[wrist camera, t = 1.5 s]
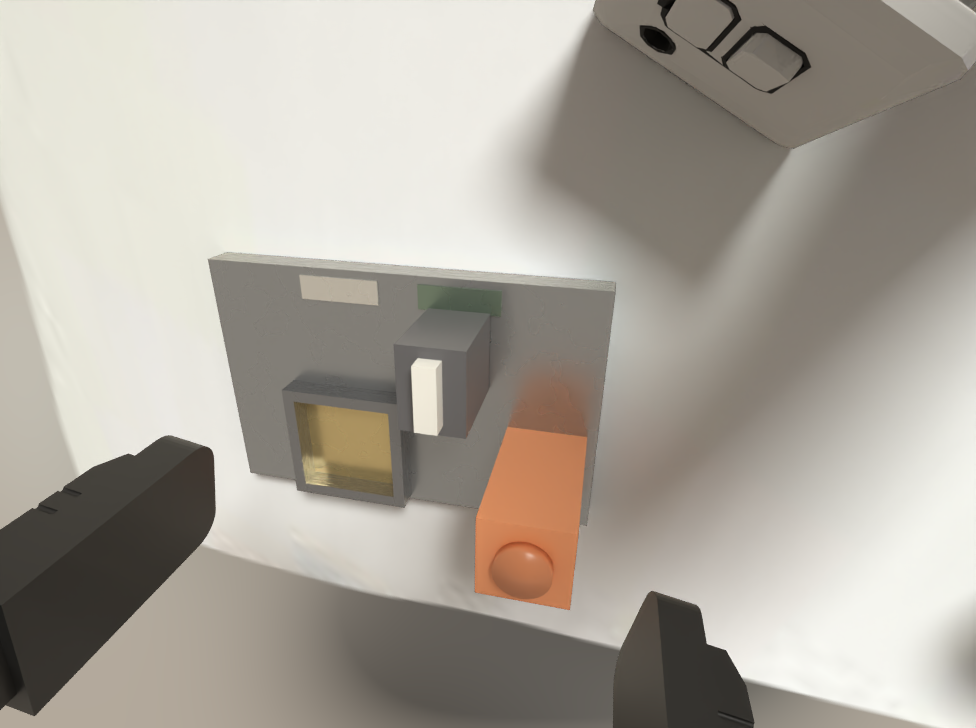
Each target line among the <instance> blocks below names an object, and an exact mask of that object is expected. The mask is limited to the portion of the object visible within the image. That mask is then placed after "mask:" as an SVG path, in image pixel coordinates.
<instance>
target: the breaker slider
mask: <svg viewBox="0 0 976 728" xmlns="http://www.w3.org/2000/svg"><path fill="white" fill-rule="evenodd" d="M393 346H394V363H395V380H396V397H397V415H398V430H403V431H410V432H414V433H420V434H427V435H435V436H438V435H440V436H447V437H455V438H462V439H466V438H467V436H468V434H469V432H470V430H471V427H472V425H473V423H474V421H475V419H476V417H477V414H478V412H479V410H480V408H481V406H482V404H483V401H484V399H485V397H486V395H487V393H488V391H489V347H490V314H487V313H476V312H465V311H454V310H443V309H432V308H428V309H427V310H426V311H425V312H424V313H423V314H422V315H421V316H420V317H419V318H418V319H417V320H416V321H415V322H414V323H413V324H412V325H411V326H410V327H409V328H408V329H407V330H406V332H405V333H404V334H403V335H402V336H401V337H400V338H399V339H398V340H397V341H396V342H395V343H394V344H393Z"/></svg>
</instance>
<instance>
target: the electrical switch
mask: <svg viewBox="0 0 976 728" xmlns="http://www.w3.org/2000/svg"><path fill="white" fill-rule="evenodd" d="M975 6H976V0H596V1H595V4H594V8H593V12H594V13H595V15H596V16H597V18H598V19H599V21H600V23H601V24H602V25H603V26H605V27H606V28H607V29H609V30H610V31H612V32H613V33H615V34H616V35H618V36H619V37H621V38H622V39H623V40H625V41H626V42H628V43H629V44H631V45H632V46H634V47H635V48H637V49H638V50H640V51H641V52H642V53H644V54H645V55H647V56H648V57H650V58H651V59H653V60H654V61H656V62H657V63H659V64H660V65H661V66H663V67H664V68H666V69H667V70H669V71H670V72H672V73H673V74H675V75H676V76H678V77H679V78H680V79H682V80H683V81H685V82H686V83H688V84H689V85H691V86H692V87H694V88H695V89H697V90H698V91H699V92H701V93H702V94H704V95H705V96H707V97H708V98H710V99H711V100H713V101H714V102H716V103H717V104H718V105H720V106H721V107H723V108H724V109H726V110H727V111H729V112H730V113H732V114H733V115H735V116H736V117H737V118H739V119H740V120H742V121H743V122H745V123H746V124H748V125H749V126H751V127H752V128H754V129H755V130H756V131H758V132H759V133H761V134H762V135H764V136H765V137H767V138H768V139H770V140H771V141H773V142H775V143H776V144H778V145H780V146H783V147H788V148H793V149H794V148H796V147H799V146H801V145H803V144H806V143H808V142H810V141H812V140H815V139H817V138H820V137H822V136H824V135H827V134H829V133H832V132H834V131H837V130H839V129H841V128H844V127H846V126H849V125H851V124H853V123H856V122H858V121H861V120H863V119H866V118H868V117H870V116H873V115H875V114H878V113H880V112H882V111H885V110H887V109H890V108H892V107H895V106H897V105H899V104H902V103H904V102H907V101H909V100H911V99H914V98H916V97H919V96H921V95H924V94H926V93H928V92H931V91H933V90H936V89H938V88H940V87H943V86H945V85H948V84H950V83H953V82H955V81H957V80H960V79H961V78H962V77H963V76H964V75H965V74H966V72H967V71H968V70H969V69H970V68H971V67H972V66H973V64H974V63H975V62H976V12H974V11H973V10H972V9H973V8H974V7H975Z"/></svg>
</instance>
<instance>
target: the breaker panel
mask: <svg viewBox="0 0 976 728" xmlns="http://www.w3.org/2000/svg"><path fill="white" fill-rule="evenodd" d="M208 262H209V267H210V272H211V277H212V282H213V287H214V292H215V297H216V302H217V307H218V312H219V317H220V322H221V327H222V332H223V337H224V342H225V347H226V352H227V357H228V362H229V367H230V372H231V377H232V382H233V387H234V392H235V397H236V402H237V407H238V412H239V417H240V422H241V427H242V432H243V437H244V442H245V447H246V452H247V457H248V462H249V467H250V472H251V473H256V474H262V475H269V476H275V477H281V478H288V479H294V480H296V485H297V490H299V491H305V492H311V493H318V494H324V495H330V496H336V497H342V498H348V499H355V500H361V501H367V502H373V503H379V504H386V505H392V506H398V507H404V508H405V506H406V504H407V502H408V500H409V499H410V498H414V499H421V500H427V501H433V502H440V503H446V504H452V505H459V506H465V507H471V508H478V509H479V507H480V504H481V502H482V499H483V496H484V493H485V490H486V487H487V484H488V481H489V479H490V476H491V473H492V470H493V467H494V464H495V461H496V458H497V456H498V453H499V450H500V447H501V444H502V441H503V438H504V435H505V433H506V430H507V427H513V428H520V429H528V430H536V431H544V432H551V433H559V434H567V435H575V436H583V437H587V445H586V456H585V468H584V479H583V490H582V501H581V512H580V523H579V525H585V526H587V520H588V512H589V504H590V496H591V488H592V479H593V471H594V463H595V455H596V447H597V439H598V430H599V422H600V414H601V406H602V398H603V390H604V382H605V373H606V365H607V357H608V349H609V341H610V333H611V325H612V316H613V308H614V300H615V292H616V282H608V281H595V280H582V279H569V278H556V277H542V276H529V275H516V274H503V273H490V272H477V271H464V270H451V269H438V268H425V267H412V266H399V265H386V264H373V263H360V262H347V261H334V260H321V259H308V258H294V257H281V256H268V255H255V254H242V253H229V252H226V253H224V254H221V255H218V256H215V257H212V258H210V259H208ZM428 308H432V309H443V310H454V311H465V312H476V313H487V314H490V347H489V391H488V393H487V395H486V397H485V399H484V401H483V404H482V406H481V408H480V410H479V412H478V414H477V417H476V419H475V421H474V423H473V425H472V427H471V430H470V432H469V434H468V436H467V438H466V439H462V438H455V437H447V436H440V435H438V436H435V435H427V434H420V433H414V432H410V431H403V430H398V415H397V397H396V380H395V363H394V346H393V344H394V343H395V342H396V341H397V340H398V339H399V338H400V337H401V336H402V335H403V334H404V333H405V332H406V330H407V329H408V328H409V327H410V326H411V325H412V324H413V323H414V322H415V321H416V320H417V319H418V318H419V317H420V316H421V315H422V314H423V313H424V312H425V311H426V310H427V309H428Z"/></svg>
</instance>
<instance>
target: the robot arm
mask: <svg viewBox="0 0 976 728" xmlns="http://www.w3.org/2000/svg"><path fill="white" fill-rule="evenodd" d="M215 510H216V507H215V475H214V455H213V452H212V450H211V449H210V448H208V447H205V446H202V445H199V444H196V443H193V442H190V441H187V440H184V439H180V438H177V437H174V436H169V435H168V436H164V437H161V438H160V439H158V440H157V441H155V442H154V443H152V444H151V445H149V446H148V447H147V448H145V449H144V450H142V451H141V452H140V453H138V454H137V455H135V456H134V455H131V454H126V455H123V456H121V457H118V458H116V459H113V460H110V461H108V462H105V463H102V464H100V465H97V466H95V467H92V468H91V469H89V470H88V471H86V472H85V473H84V474H82V475H81V476H79V477H78V478H76V479H75V480H74V481H72V482H70V483H69V484H67V485H66V486H64V488H63V490H62V491H61V492H59V491H57V492H56V493H54V494H53V495H51V496H49V497H48V498H47V499H45V500H44V501H42V502H41V503H39V506H38V507H37V508H36V509H33V508H32V509H30V510H29V511H27V512H26V513H24V514H23V515H22V516H20V517H18V518H17V519H15V520H14V521H12V522H11V523H10V524H8V525H7V526H5V527H4V528H2V529H1V530H0V710H1V709H2V708H3V707H4V706H5V705H7V706H9V707H12V708H14V709H17V710H20V711H22V712H25V713H27V714H30V715H33V716H35V715H36V714H37V713H38V712H39V711H40V710H41V709H42V708H43V707H44V706H45V705H46V704H47V703H48V702H49V701H50V699H52V697H54V696H55V695H56V693H57V692H58V691H59V690H60V689H61V688H62V687H63V686H64V685H65V684H66V683H67V682H68V681H69V680H70V679H71V678H72V677H73V676H74V675H75V674H76V673H77V671H79V670H80V669H81V668H82V667H83V666H84V664H85V663H86V662H87V661H88V660H89V659H90V658H91V657H92V656H93V655H94V654H95V653H96V652H97V651H98V650H99V649H100V648H101V647H102V646H103V645H104V644H105V643H106V642H107V641H108V640H109V639H110V638H111V636H112V635H113V634H114V633H115V632H116V631H117V630H118V629H119V628H120V627H121V626H122V625H123V624H124V623H125V622H126V621H127V620H128V619H129V618H130V617H131V616H132V615H133V614H134V613H135V612H136V610H137V609H139V607H141V605H142V604H143V603H144V602H145V601H146V600H147V599H148V598H149V597H150V596H151V595H152V594H153V593H154V592H155V591H156V590H157V589H158V588H159V587H160V586H161V585H162V584H163V583H164V582H165V581H166V580H167V579H168V577H169V576H170V575H171V574H172V573H173V572H174V571H175V570H176V569H177V568H178V567H179V566H180V565H181V564H182V563H183V562H184V561H185V560H186V559H187V558H188V557H189V556H190V555H191V553H193V551H195V550H196V549H197V547H198V546H199V545H200V544H201V543H202V542H203V540H204V539H205V538H206V536H207V534H208V533H209V531H210V529H211V526H212V524H213V521H214V517H215ZM753 726H754V719H753V714H752V710H751V706H750V701H749V697H748V692H747V688H746V685H745V683H744V681H743V679H742V678H741V676H740V674H739V672H738V671H737V669H736V667H735V665H734V664H733V662H732V660H731V658H730V657H729V655H728V653H727V651H726V650H723V649H720V648H717V647H714V646H711V645H708V644H707V643H706V637H705V631H704V625H703V619H702V614H701V611H700V609H699V607H698V606H697V605H695V604H692V603H688V602H685V601H682V600H679V599H676V598H673V597H670V596H667V595H663V594H660V593H657V592H654V591H651V592H649V593H648V595H647V596H646V598H645V600H644V602H643V604H642V606H641V608H640V610H639V612H638V614H637V616H636V619H635V621H634V623H633V625H632V627H631V629H630V631H629V633H628V635H627V637H626V639H625V641H624V643H623V645H622V647H621V650H620V653H619V656H618V660H617V664H616V669H615V675H614V687H613V728H753Z"/></svg>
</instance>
